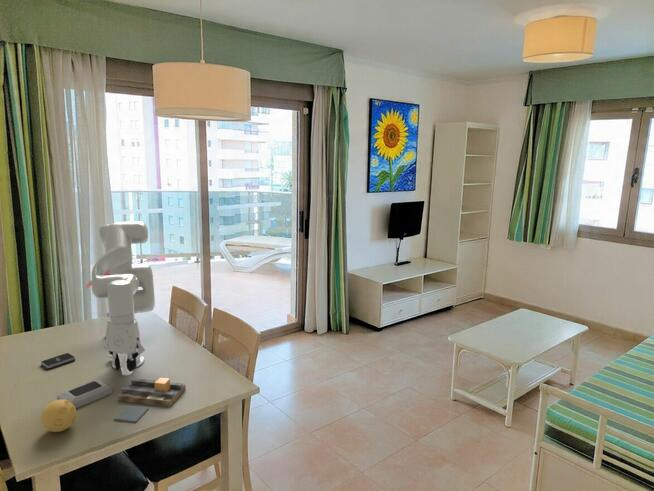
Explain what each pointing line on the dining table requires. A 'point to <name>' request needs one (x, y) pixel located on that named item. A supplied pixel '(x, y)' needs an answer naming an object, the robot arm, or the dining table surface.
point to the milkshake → (124, 363)
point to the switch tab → (162, 384)
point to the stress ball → (58, 415)
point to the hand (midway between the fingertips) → (126, 368)
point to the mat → (131, 413)
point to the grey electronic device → (86, 393)
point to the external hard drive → (58, 361)
